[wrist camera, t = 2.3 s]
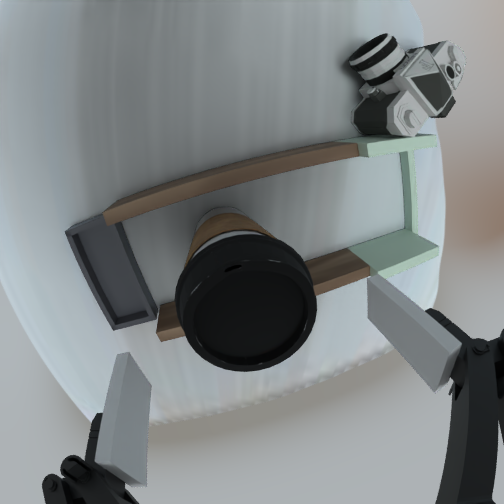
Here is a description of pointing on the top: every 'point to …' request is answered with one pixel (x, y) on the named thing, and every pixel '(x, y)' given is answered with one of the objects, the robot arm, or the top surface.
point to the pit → (112, 272)
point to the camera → (404, 85)
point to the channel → (321, 269)
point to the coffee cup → (243, 294)
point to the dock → (406, 240)
